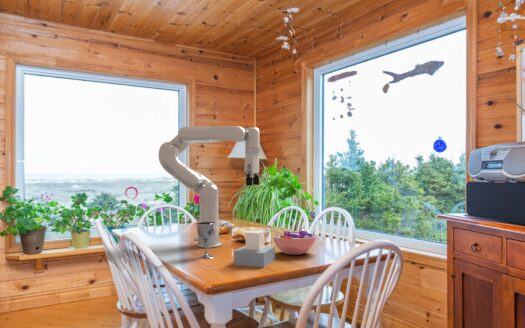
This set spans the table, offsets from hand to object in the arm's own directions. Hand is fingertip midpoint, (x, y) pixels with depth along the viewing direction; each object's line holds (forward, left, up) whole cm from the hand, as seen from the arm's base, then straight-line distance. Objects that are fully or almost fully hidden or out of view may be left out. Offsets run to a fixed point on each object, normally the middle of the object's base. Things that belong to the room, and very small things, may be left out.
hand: (252, 184), depth 196 cm
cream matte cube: (+14, -36, -25) cm, 46 cm away
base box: (+14, -36, -31) cm, 49 cm away
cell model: (+26, -16, -31) cm, 43 cm away
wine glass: (-10, -33, -31) cm, 46 cm away
